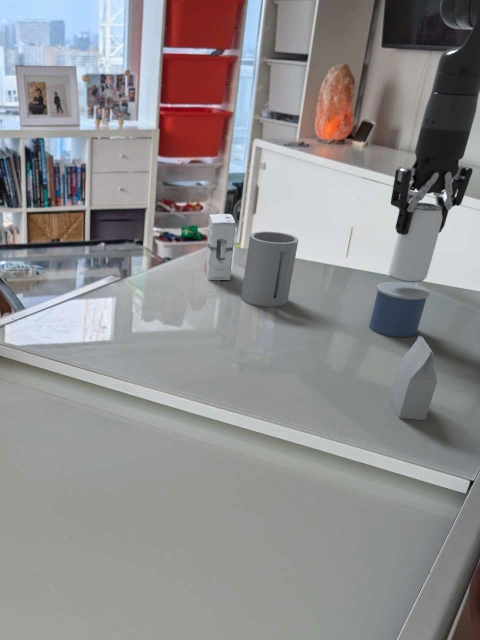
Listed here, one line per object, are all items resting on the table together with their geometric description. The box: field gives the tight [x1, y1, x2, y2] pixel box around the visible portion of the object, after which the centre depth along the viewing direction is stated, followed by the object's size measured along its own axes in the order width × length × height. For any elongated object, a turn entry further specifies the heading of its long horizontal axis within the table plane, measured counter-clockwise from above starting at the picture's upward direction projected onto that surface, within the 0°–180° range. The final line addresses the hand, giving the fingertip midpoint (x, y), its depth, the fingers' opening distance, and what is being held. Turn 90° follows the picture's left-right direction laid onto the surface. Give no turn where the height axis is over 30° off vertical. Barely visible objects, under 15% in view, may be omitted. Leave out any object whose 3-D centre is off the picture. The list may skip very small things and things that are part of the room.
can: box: [388, 202, 443, 283], centre depth 132 cm, size 6×6×12 cm
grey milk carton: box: [388, 335, 438, 421], centre depth 109 cm, size 4×7×10 cm, turn 173°
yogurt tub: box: [368, 281, 430, 338], centre depth 138 cm, size 9×9×7 cm
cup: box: [240, 231, 299, 308], centre depth 149 cm, size 9×9×12 cm
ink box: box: [204, 213, 237, 281], centre depth 161 cm, size 9×5×12 cm, turn 178°
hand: (418, 232), depth 131 cm, fingers closed on can, 6 cm apart
